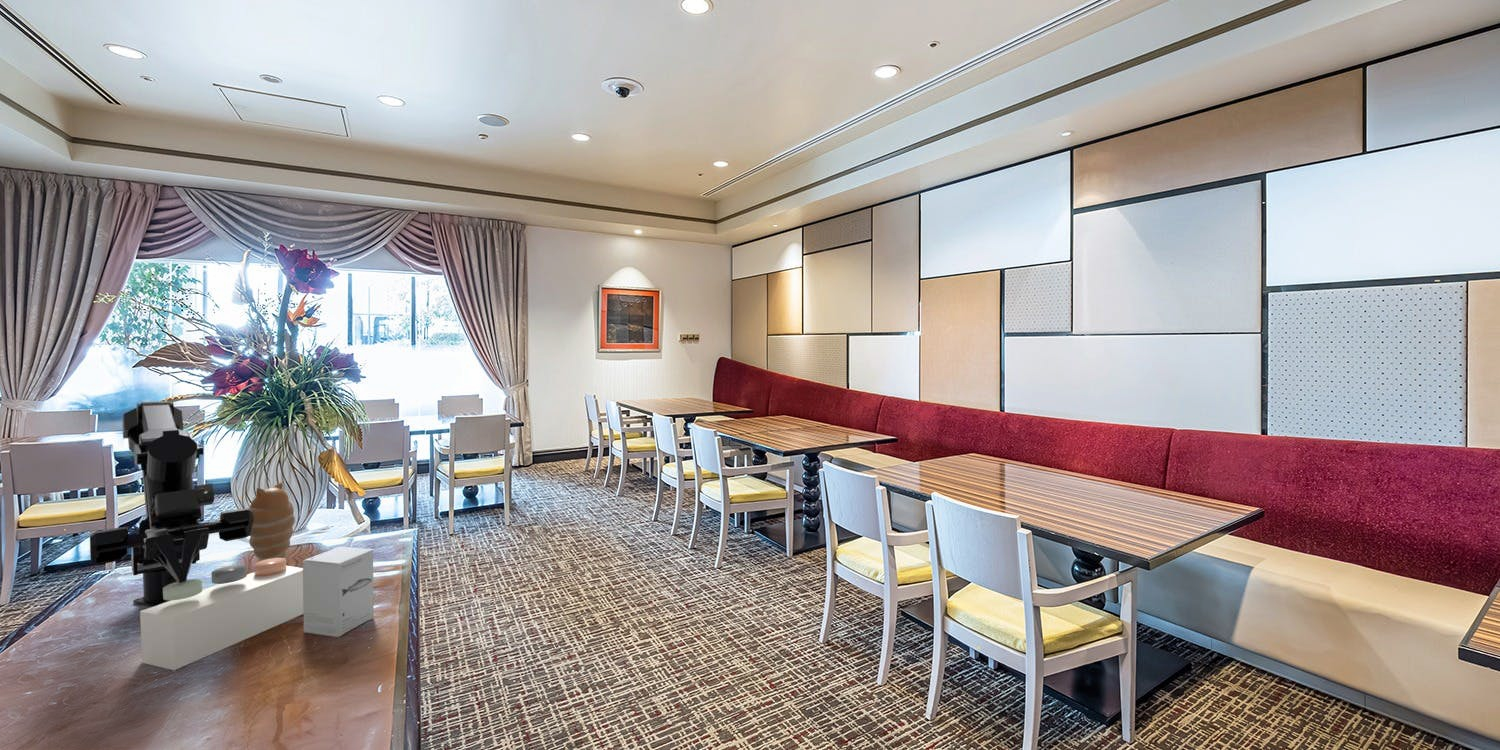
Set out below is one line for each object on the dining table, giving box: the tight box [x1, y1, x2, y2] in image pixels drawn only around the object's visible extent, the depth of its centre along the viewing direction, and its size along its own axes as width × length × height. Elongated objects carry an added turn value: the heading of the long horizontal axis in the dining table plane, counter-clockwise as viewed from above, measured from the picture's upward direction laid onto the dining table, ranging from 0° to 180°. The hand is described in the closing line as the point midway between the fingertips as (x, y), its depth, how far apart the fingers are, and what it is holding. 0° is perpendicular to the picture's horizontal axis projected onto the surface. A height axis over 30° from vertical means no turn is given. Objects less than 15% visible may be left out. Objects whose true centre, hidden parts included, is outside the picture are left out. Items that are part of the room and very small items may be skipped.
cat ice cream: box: [247, 482, 296, 562], centre depth 126 cm, size 9×8×18 cm
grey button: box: [210, 564, 248, 585], centre depth 98 cm, size 4×4×2 cm
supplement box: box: [302, 546, 375, 638], centre depth 102 cm, size 7×7×13 cm
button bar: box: [139, 565, 304, 671], centre depth 98 cm, size 7×20×8 cm, turn 164°
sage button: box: [163, 578, 203, 600], centre depth 92 cm, size 4×4×2 cm
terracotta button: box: [253, 557, 287, 575], centre depth 105 cm, size 4×4×2 cm
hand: (182, 581), depth 92 cm, fingers closed
